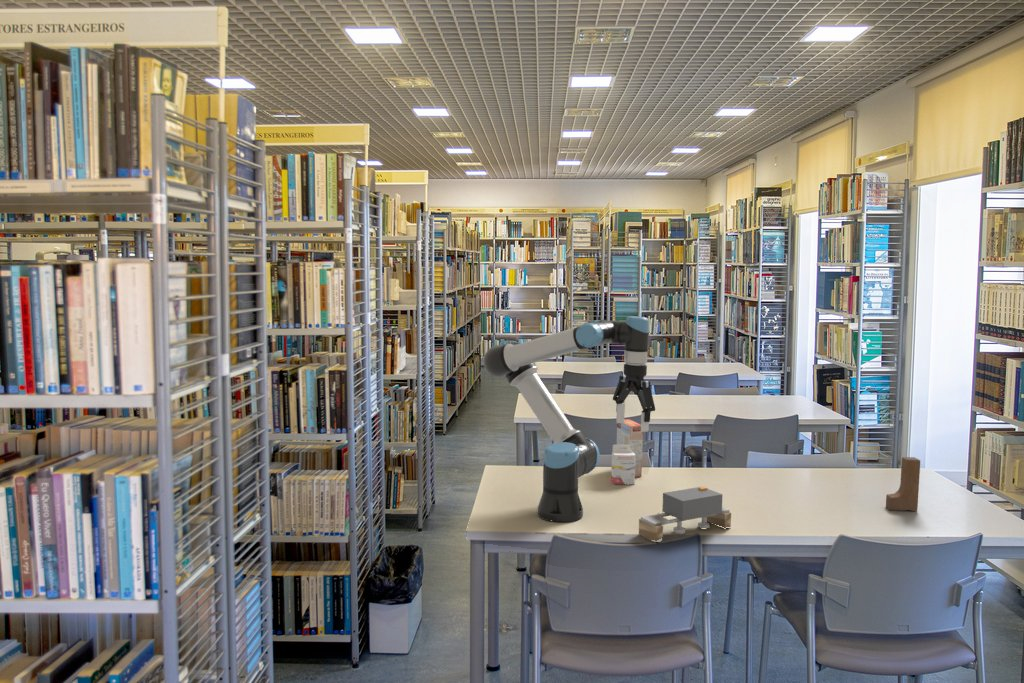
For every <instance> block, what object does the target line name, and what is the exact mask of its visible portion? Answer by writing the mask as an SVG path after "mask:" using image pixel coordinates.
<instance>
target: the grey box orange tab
mask: <svg viewBox="0 0 1024 683" xmlns="http://www.w3.org/2000/svg"><path fill="white" fill-rule="evenodd" d="M722 507H723V494H722V493H719V492H718V491H715V490H711V489H710V488H708V487H706V486H697V487H692V488H685V489H679V490H673V491H667V492H662V511H661V512H662V513H667V514H669V515H671V516H670V517H673V516H674V517H673V518H675V519H676V518H678V519H680V520H686V521H688V520H687V519H691V520H693V519H692V518H696V519H699V518H698V517H702V518H701V521H699V522H697V528H698V527H700V528H709V529H710V524H711V523H708V522H706V517H703V516H708V515H714V514H719V513H722ZM682 525H683V521H680V522H676V526H674V527H672V528H673V531H672V532H673V534H677V535H684V533H685V534H686V528H685V527H683V526H682ZM700 528H699V529H700Z"/></svg>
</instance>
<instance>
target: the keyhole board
mask: <svg viewBox="0 0 1024 683" xmlns="http://www.w3.org/2000/svg"><path fill="white" fill-rule="evenodd" d="M666 517H673V518H672V519H671V518H670V519H668V518H666ZM703 517H706V521H708V522H710V523H709V524H711V523H713V524H716V525H719V526H722V527H724V528H726V527H731V526H732V525H731V524H732V512H731V511H730V509H729V508H726V507H724V506H722V513H719V514H714V515H708V516H703ZM695 519H702V517H698V518H692V519H687V520H680V519H678V518H676V517H674V516H671V515H669V514H667V513H665V512H662V513H656V514H651V515H645V516H640V518H638V535H639V534H640V535H642V536H643V537H642V536H641V537H642V538H644V537H645V539H646V540H648V539H649V541H650V540H655V541H657V540H659V539H661V538H662V537H663V538H664V525H668V524H669V525H670V524H675V523H677V522H680V521H682V522H684V521H685V522H686V521H690V520H691V521H692V520H695ZM708 522H707V523H708ZM713 524H712V525H713ZM640 535H639V536H640Z"/></svg>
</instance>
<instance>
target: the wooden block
mask: <svg viewBox="0 0 1024 683" xmlns="http://www.w3.org/2000/svg"><path fill="white" fill-rule="evenodd" d="M900 467H901V468H900V473H901V474H900V484H899V487H898V489H897V491H895V492H894V493H887V494H886V495H885V496H886V498H885V507H886V508H887V509H888V508H889V509H888V510H890V511H893V510H905V511H904V512H907V511H906V510H912V511H911V512H917V511H918V507H919V506H918V504H919V490H920V488H919V487H920V474H921V473H920V472H921V459H918V458H916V457H913V456H912V457H911V456H908V457H907V456H902V457H901V466H900Z"/></svg>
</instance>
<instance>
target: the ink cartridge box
mask: <svg viewBox="0 0 1024 683" xmlns="http://www.w3.org/2000/svg"><path fill="white" fill-rule="evenodd" d="M620 447H626V448H627V449H619V448H620ZM635 461H636V455H635V454H634V453H633V445H620V444H619V445H617V444H612V452H611V472H610V482H611V483H612V485H613V484H614V485H615V484H622V485H621V486H623V485H624V484H625V485H624V486H626V484H627V486H628V485H629V484H635V485H636V483H635V482H636V481H635V480H636V477H635ZM629 486H630V485H629Z"/></svg>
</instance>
